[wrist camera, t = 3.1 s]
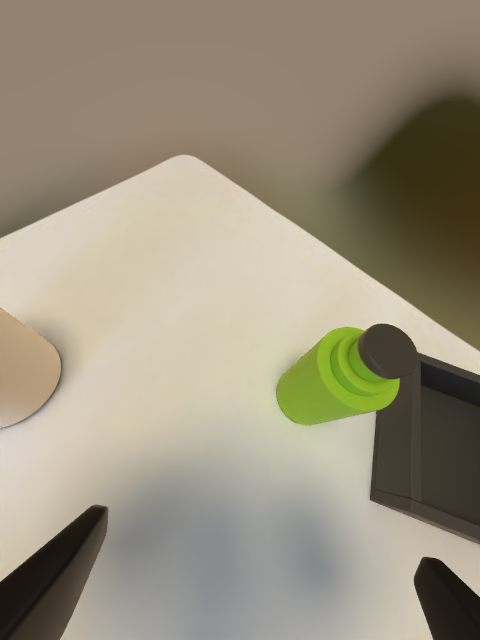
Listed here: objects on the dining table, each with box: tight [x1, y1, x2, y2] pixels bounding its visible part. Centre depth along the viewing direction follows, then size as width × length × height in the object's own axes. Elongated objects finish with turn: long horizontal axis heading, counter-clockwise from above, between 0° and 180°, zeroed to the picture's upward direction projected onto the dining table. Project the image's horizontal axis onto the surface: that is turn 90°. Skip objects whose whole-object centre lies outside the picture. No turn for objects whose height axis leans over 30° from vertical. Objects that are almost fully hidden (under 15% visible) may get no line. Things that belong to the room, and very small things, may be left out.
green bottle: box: [277, 324, 418, 425], centre depth 18 cm, size 5×5×12 cm
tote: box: [370, 352, 480, 544], centre depth 21 cm, size 12×12×4 cm
